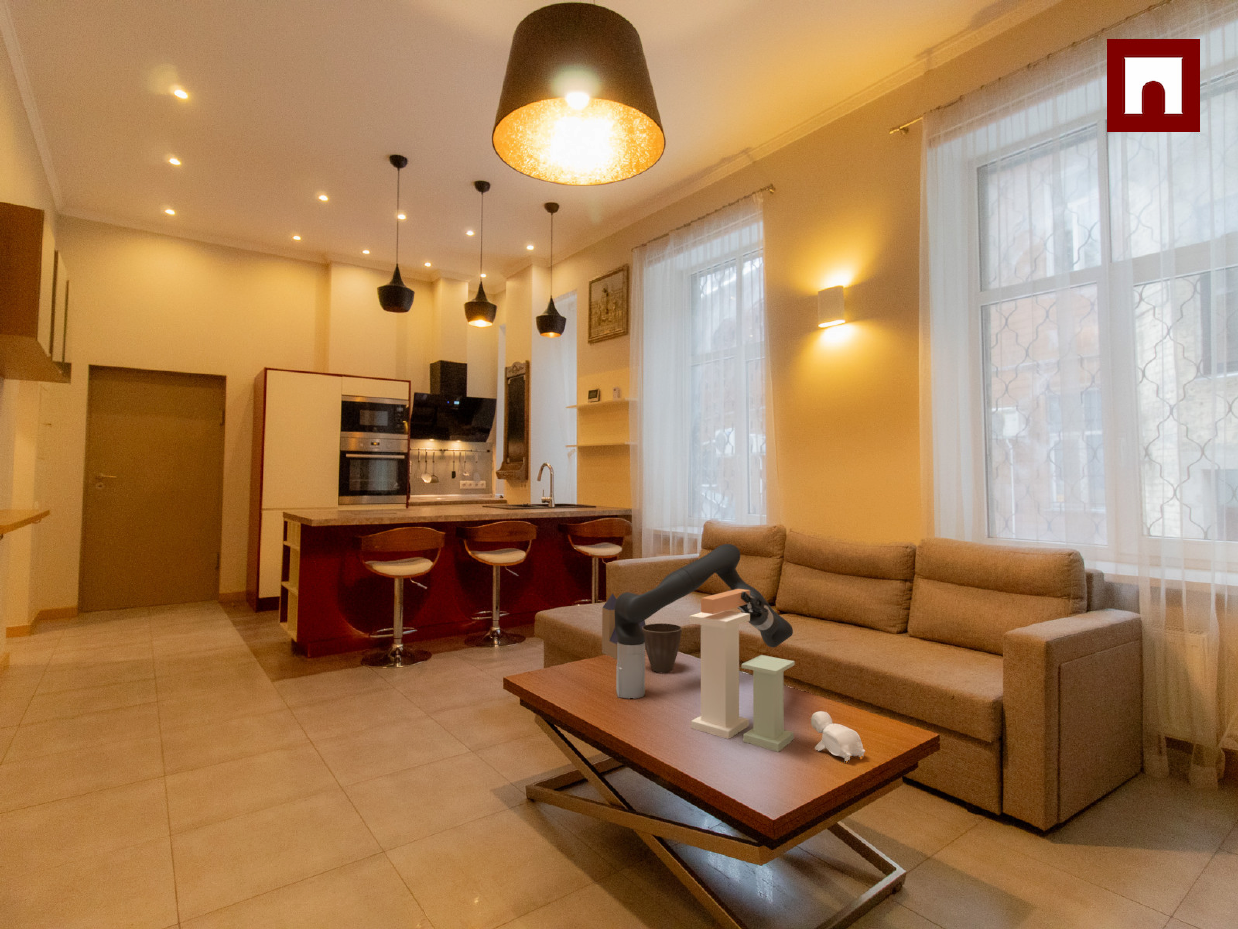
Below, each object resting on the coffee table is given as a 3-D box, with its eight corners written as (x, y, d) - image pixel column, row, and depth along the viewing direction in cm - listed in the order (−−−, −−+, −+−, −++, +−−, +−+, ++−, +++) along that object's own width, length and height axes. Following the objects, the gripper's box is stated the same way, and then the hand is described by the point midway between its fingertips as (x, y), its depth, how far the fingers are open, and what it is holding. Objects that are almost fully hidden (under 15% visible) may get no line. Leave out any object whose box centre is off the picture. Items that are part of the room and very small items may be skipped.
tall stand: (714, 715, 184) (713, 608, 185) (750, 725, 177) (749, 613, 178) (689, 729, 173) (689, 615, 175) (726, 740, 166) (726, 621, 167)
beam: (738, 601, 189) (738, 588, 189) (749, 603, 187) (749, 590, 187) (701, 612, 172) (701, 598, 172) (713, 614, 170) (713, 599, 170)
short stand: (761, 729, 173) (761, 655, 174) (795, 738, 167) (794, 661, 168) (741, 743, 164) (741, 664, 165) (776, 753, 158) (776, 671, 159)
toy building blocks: (602, 652, 254) (602, 592, 255) (640, 647, 263) (640, 589, 264) (616, 660, 243) (616, 597, 244) (656, 654, 252) (656, 593, 253)
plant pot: (641, 676, 223) (642, 631, 223) (641, 664, 238) (642, 622, 238) (682, 676, 222) (682, 632, 223) (680, 665, 237) (680, 623, 238)
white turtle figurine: (862, 768, 156) (821, 727, 169) (872, 741, 154) (830, 702, 166) (838, 775, 152) (798, 732, 165) (847, 748, 150) (806, 706, 163)
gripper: (740, 601, 201) (718, 579, 190) (781, 606, 192) (760, 584, 181) (735, 622, 198) (711, 602, 187) (776, 629, 189) (754, 608, 178)
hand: (735, 593), depth 184 cm, fingers closed on beam, 4 cm apart
